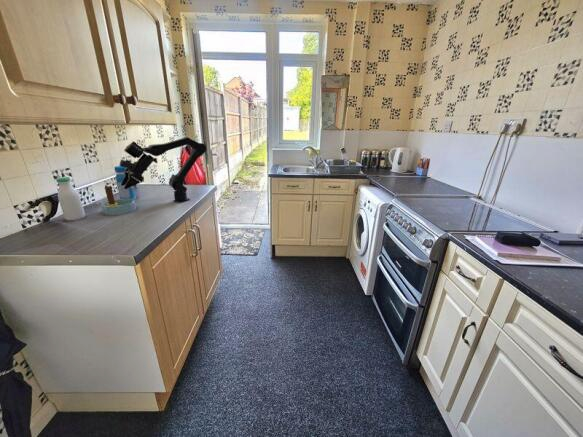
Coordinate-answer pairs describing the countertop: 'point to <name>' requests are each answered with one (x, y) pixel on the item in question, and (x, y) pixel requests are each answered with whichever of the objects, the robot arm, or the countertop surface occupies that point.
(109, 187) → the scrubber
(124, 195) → the beverage bottle
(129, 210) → the bowl
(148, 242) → the countertop surface
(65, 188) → the milk bottle
